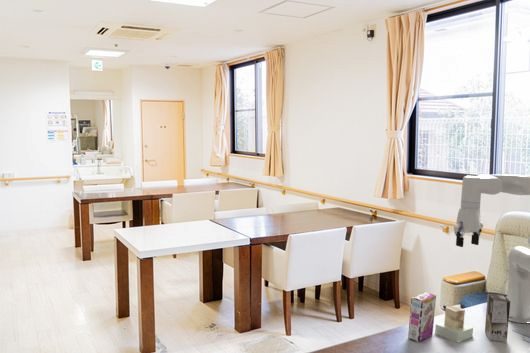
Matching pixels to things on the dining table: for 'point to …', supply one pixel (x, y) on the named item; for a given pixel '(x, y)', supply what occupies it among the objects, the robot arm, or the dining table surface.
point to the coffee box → (497, 317)
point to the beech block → (454, 317)
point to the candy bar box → (421, 316)
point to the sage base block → (454, 332)
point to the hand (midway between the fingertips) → (467, 245)
